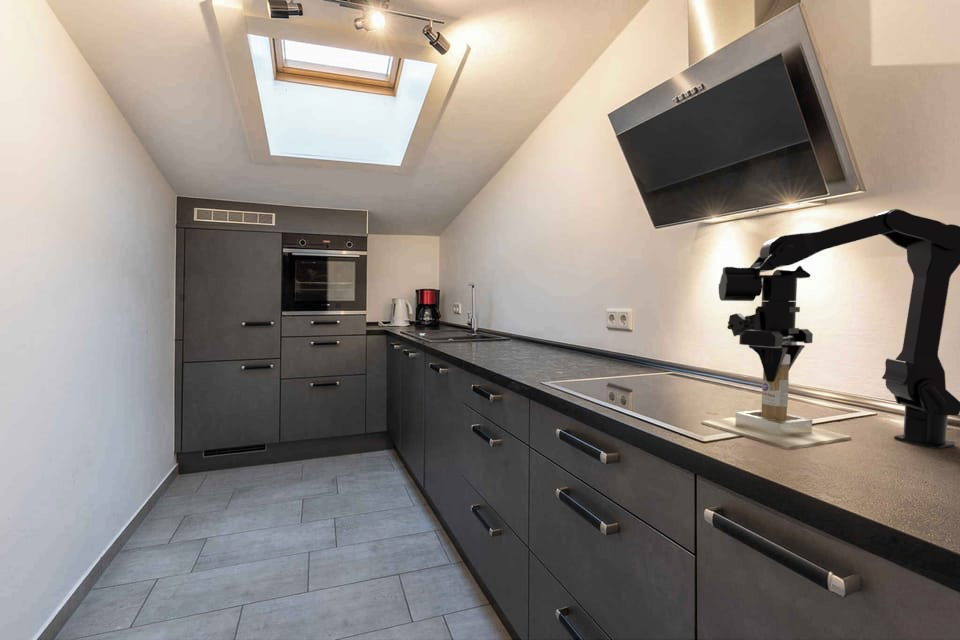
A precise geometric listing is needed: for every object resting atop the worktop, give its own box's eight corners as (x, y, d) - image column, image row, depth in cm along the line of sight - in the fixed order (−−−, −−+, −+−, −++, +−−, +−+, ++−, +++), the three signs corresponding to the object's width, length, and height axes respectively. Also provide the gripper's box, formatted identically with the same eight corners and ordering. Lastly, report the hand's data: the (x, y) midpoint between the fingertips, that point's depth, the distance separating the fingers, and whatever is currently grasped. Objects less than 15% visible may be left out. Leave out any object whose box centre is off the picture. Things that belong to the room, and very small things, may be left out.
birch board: (760, 416, 103) (760, 414, 103) (851, 439, 87) (851, 436, 87) (701, 423, 96) (701, 421, 96) (787, 449, 80) (788, 446, 80)
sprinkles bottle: (755, 418, 93) (757, 352, 92) (771, 417, 94) (774, 351, 94) (776, 424, 88) (778, 355, 88) (793, 423, 90) (796, 354, 89)
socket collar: (766, 420, 97) (766, 409, 97) (811, 432, 89) (812, 419, 89) (735, 424, 94) (735, 412, 94) (779, 437, 85) (780, 423, 85)
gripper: (756, 301, 102) (753, 371, 103) (713, 300, 91) (710, 378, 92) (815, 302, 93) (811, 378, 94) (775, 301, 82) (772, 387, 83)
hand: (775, 380), depth 91 cm, fingers closed on sprinkles bottle, 4 cm apart
